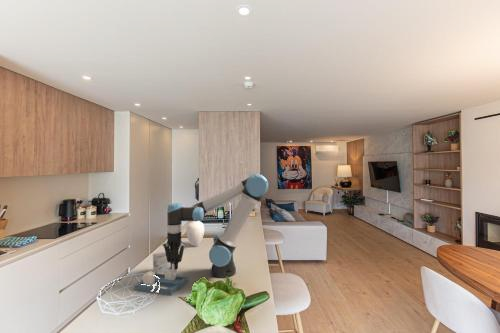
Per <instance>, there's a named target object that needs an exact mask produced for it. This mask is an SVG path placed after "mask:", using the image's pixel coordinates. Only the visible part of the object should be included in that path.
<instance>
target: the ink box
mask: <svg viewBox="0 0 500 333" xmlns="http://www.w3.org/2000/svg"><path fill="white" fill-rule="evenodd" d="M168 267H170V262H167V258H166V253H165V250H163V251H159V252H157V253H153V254H152V272H156V273H165V269H167V268H168Z"/></svg>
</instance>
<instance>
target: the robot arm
mask: <svg viewBox="0 0 500 333" xmlns="http://www.w3.org/2000/svg"><path fill="white" fill-rule="evenodd" d="M268 189H269V182H268V180H267V178H266V177H265V176H264V175H263V174H260V173H254V174H251V175H250V176H249V177H247V178H245V179H244V180H242V181H240V184H237V185H235V186H232V187H231V188H228V189H226V190H224V191H222V192H219V193H217V194H216V195H213V196H211V197H209V198H206V199H204V200H203V201H201V202H197V203H195V204H194V205H193V204H192V206H187V207H184V206H183V205H182V203H180V202H179V203H176V202H175V203H174V202H173V203H169V204H167V211H166V212H167V215H166V216H167V219H166V220H167V226H166V227H167V229H166V234H167V237H166V238H167V241H166V242H165V243H163V244H162V246H163V248H164V251H165V253H166V258H167V262H170V268H171V269H172V276H175V275H178V269H179V263H180V262H182V260H183V256H184V251H185V248H186V247H187V246H186V244H183V242H182V222H191V221H200V222H202V221H203V220H204V217H205V215H206V214H207V213H209V212H211V211H214V210H216V209H219V208H220V207H223V206H225V205H227V204H229V203H232V202H234V201H236V200H238V199H240V200H239V202H238V204H237V205H236V208H234V211H233V213H232V214H231V217H230V218H229V220H228V222H227V224H226V226H225V228H224V230H223V232H222V233H216V234H214V235H213V244H212V245H211V248H210V249H209V253H208V256H209V260H210V263H211V264H212V265H211V268H210V275H211V276H212V277H213V278H220V279H221V278H225V279H226V278H229V277H232V276H234V275H235V274H237V267H236V263H235V262H234V252H235V249H236V248H237V246H238V245H237V240H238V238H239V237H240V234H241V232H242V231H243V229H244V227H245V226H246V223H247V221H248V219H249V217H250V216H251V214H252V211H253V210H254V208H255V206H256V204H258V203H260V202H261V200H262V199H263V197H264V195H265V194H266V193H267V192H268ZM226 276H228V277H226Z"/></svg>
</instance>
